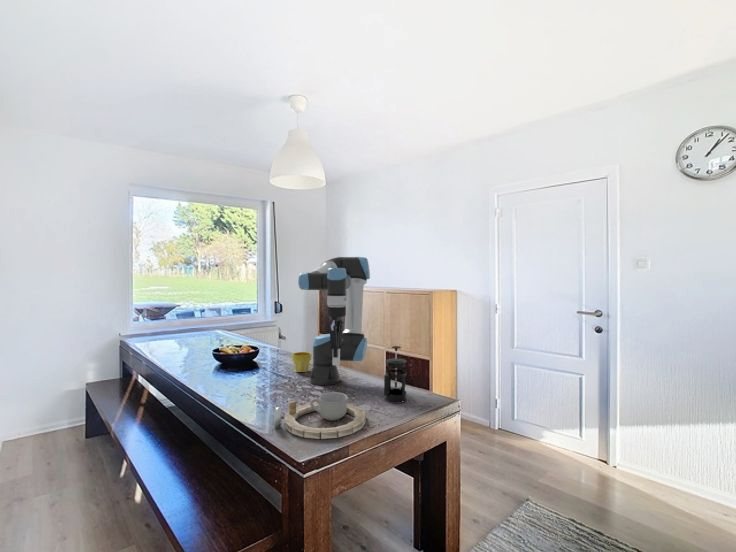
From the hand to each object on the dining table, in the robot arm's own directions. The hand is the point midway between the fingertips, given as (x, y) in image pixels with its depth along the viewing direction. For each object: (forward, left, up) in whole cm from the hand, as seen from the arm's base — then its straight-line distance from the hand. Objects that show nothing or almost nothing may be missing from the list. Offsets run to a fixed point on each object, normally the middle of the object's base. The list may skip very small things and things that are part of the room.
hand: (336, 364), depth 151 cm
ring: (+14, 0, -18) cm, 22 cm away
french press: (-15, +22, -18) cm, 32 cm away
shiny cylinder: (+22, -15, -18) cm, 32 cm away
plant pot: (-50, -34, -18) cm, 63 cm away
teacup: (+9, 0, -18) cm, 20 cm away
